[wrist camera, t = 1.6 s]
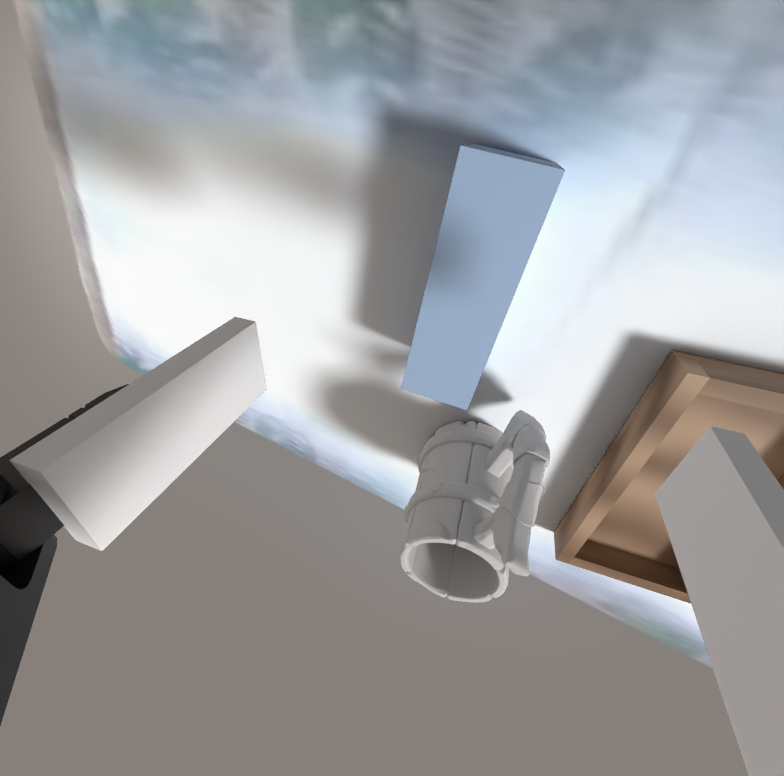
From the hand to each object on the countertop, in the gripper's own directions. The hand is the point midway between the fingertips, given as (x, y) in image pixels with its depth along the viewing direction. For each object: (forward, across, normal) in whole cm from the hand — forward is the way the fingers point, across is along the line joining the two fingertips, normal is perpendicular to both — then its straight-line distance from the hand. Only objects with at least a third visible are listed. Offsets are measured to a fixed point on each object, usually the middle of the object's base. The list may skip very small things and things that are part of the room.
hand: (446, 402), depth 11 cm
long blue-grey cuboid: (+13, -1, 0) cm, 13 cm away
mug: (+13, +3, -12) cm, 18 cm away
